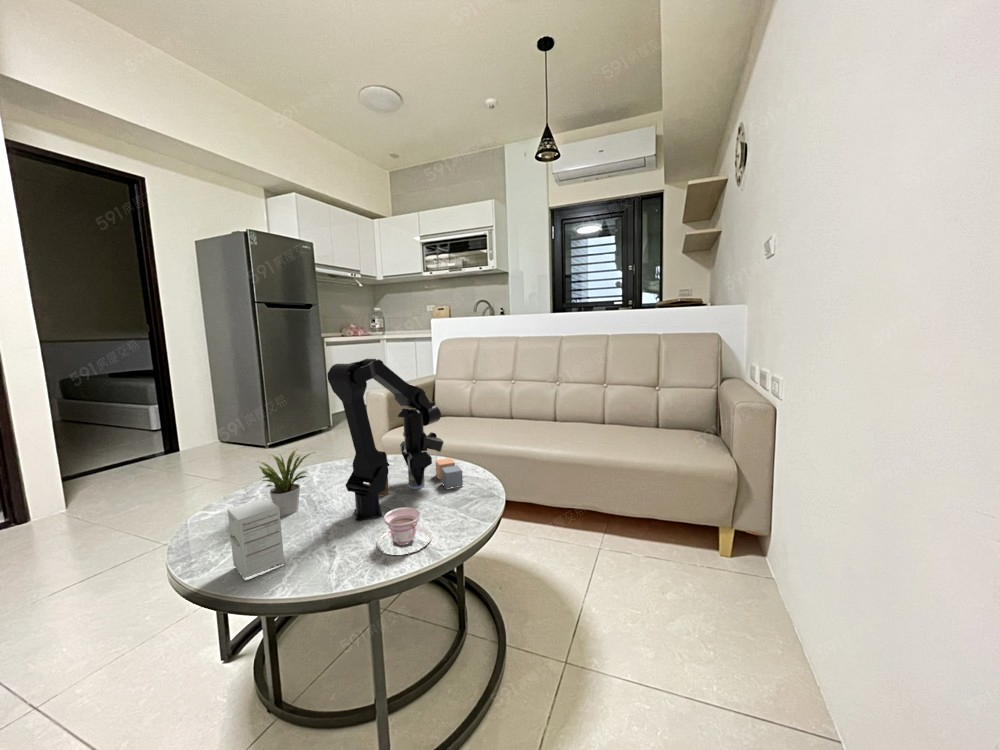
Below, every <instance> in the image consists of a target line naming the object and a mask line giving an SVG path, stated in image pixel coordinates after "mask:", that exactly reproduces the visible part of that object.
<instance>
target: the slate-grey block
mask: <svg viewBox="0 0 1000 750" xmlns="http://www.w3.org/2000/svg"><path fill="white" fill-rule="evenodd" d="M463 479H464V477H463V470H462V469H461V467H460V466H458V464H457V465H455V466H451V467H445V468H442V480H441V481H442V483H443V484H444V485H443V484H442V485H443V487H444V488H445V487H446V488H445V489H446V490H448V489H447V488H451V487H457V486H462V485H463V486H464V483H463V482H464V481H463ZM463 486H462V487H463ZM457 488H458V487H457ZM451 489H452V488H451Z"/></svg>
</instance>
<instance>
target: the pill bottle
mask: <svg viewBox="0 0 1000 750" xmlns="http://www.w3.org/2000/svg"><path fill="white" fill-rule="evenodd" d="M407 476H408V487H409V489H414V490H415V489H417V490H418V489H421V488H423V487H425V484H426V483H425V480H426V479H425V473H424V474H423V479H422V483H421V485H417V483H416V481H415V479H414V477H413V474H412V472H411V470H410V468H409V466H407Z"/></svg>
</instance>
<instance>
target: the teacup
mask: <svg viewBox="0 0 1000 750" xmlns="http://www.w3.org/2000/svg"><path fill="white" fill-rule="evenodd" d="M421 516H422V515H421V512H420V511H419V510H418V509H417V508H414V507H397V508H394V509H392V510H389V511H388V512H386V513H385V515H384V516H383V520H384V521H383V522H384V523H385V525H386V526H387V527H388V529H389V531H387V532H385V533H384V534H382V535H381V536H380V537H379V538H378V539H377V541H376V547H378V548H377V550H378V549H379V550H380V551H382V552H384V551H383V550H381V548H380V542H381V540H382V539H384V538H385V537H386V536H387V535H389V534H390V533H391V539H392V540H393V541H394V543H396V544H397V545H398V544H406V543H409V542H410V541H411V542H412V540H413V539H415V536H416V530H420V531H424V532H425V533H426V534H428V537H429V541H428V542H427V543H426V545H427V544H428V543H429V542H430V541H431V542H432V540H431V539H433V536H432V532H431V531H430V530H429V529H427V528H425V527H422V526H417V525H418V522H419V520H420V518H421ZM411 542H410V543H411ZM431 542H430V543H431ZM410 543H409V544H410ZM430 543H429V544H430ZM429 544H428V545H429ZM426 545H425V546H426ZM428 545H427V546H428ZM425 546H423V547H425ZM423 547H422V548H423ZM425 548H426V547H425ZM420 549H421V548H420ZM423 549H424V548H423ZM379 550H378V551H379ZM380 551H379V552H380ZM382 552H381V553H382ZM385 553H386V552H385ZM408 553H409V552H408Z"/></svg>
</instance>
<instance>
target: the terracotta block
mask: <svg viewBox="0 0 1000 750" xmlns="http://www.w3.org/2000/svg"><path fill="white" fill-rule="evenodd" d="M455 464H456V463H455V461H454V460H453V459H452V458H451V457H449V458H448V457H447V458H442V459H436V460H435V475H436V477H437V476H438V477H439V478H438V477H437V478H438V479H439V481H442V480H441V479H442V468H445V467H451V466H456V465H455Z"/></svg>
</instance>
